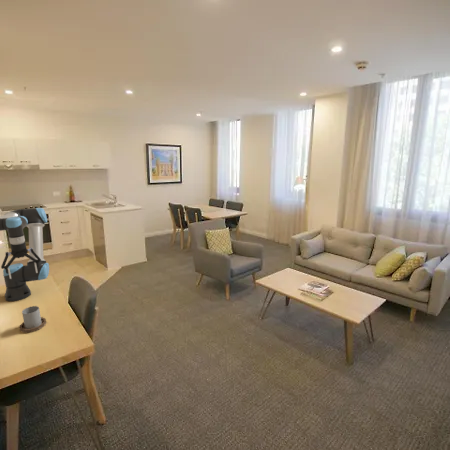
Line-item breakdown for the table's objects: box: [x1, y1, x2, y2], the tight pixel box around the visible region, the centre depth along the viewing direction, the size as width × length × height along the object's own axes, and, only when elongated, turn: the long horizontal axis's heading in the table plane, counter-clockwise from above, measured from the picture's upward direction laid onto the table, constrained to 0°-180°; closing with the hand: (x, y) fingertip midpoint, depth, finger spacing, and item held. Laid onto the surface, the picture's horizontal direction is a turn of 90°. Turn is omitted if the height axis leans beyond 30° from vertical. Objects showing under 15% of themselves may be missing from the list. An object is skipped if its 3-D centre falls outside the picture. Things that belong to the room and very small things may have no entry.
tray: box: [19, 316, 47, 334], centre depth 172 cm, size 13×13×2 cm
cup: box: [21, 305, 42, 329], centre depth 170 cm, size 8×8×10 cm
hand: (24, 275), depth 180 cm, fingers open, 13 cm apart
